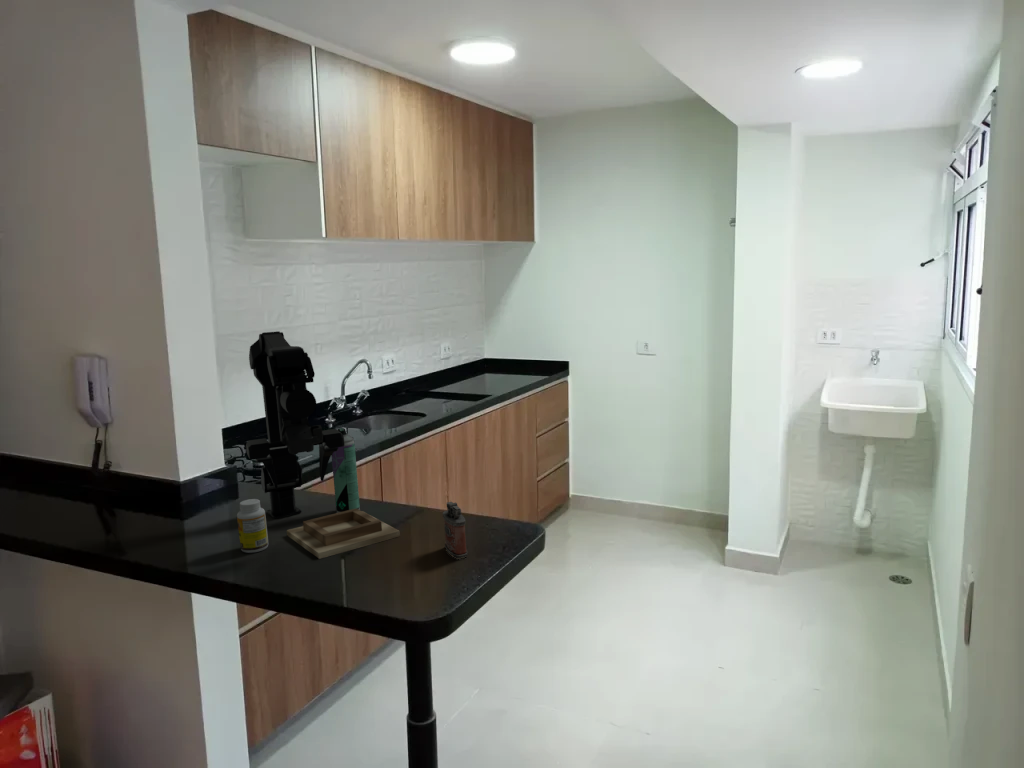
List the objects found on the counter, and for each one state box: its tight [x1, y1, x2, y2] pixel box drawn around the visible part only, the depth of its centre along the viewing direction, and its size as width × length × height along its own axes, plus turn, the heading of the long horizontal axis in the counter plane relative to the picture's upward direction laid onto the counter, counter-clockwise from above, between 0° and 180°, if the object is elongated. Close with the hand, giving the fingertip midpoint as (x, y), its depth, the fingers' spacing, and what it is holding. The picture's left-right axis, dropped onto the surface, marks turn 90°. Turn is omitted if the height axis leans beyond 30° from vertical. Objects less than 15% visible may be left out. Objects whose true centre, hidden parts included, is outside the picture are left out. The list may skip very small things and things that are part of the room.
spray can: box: [331, 427, 361, 513], centre depth 176 cm, size 6×6×20 cm
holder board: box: [286, 509, 401, 560], centre depth 160 cm, size 18×18×3 cm
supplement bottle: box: [236, 498, 269, 554], centre depth 155 cm, size 6×6×10 cm
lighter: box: [442, 501, 468, 558], centre depth 148 cm, size 8×3×10 cm, turn 23°
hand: (299, 484), depth 154 cm, fingers open, 9 cm apart
